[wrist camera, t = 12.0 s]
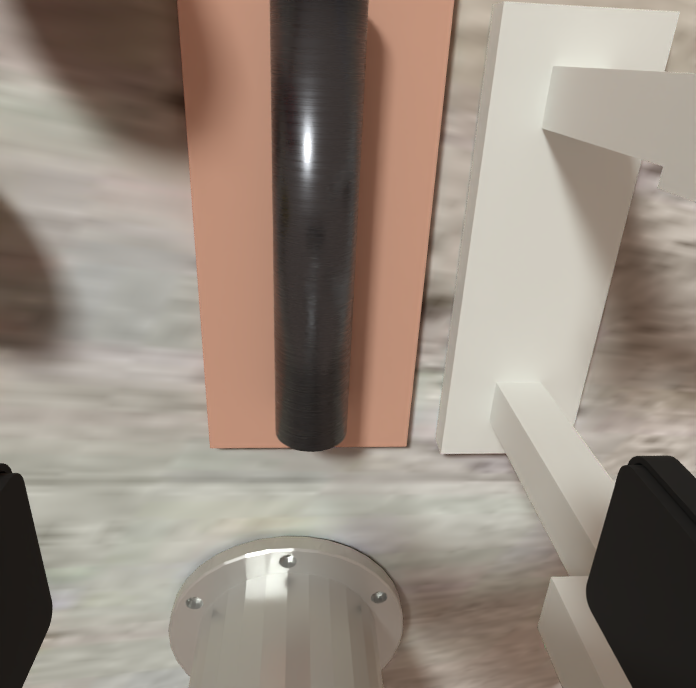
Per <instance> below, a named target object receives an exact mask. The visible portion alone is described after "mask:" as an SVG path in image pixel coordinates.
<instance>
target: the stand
mask: <svg viewBox="0 0 696 688" xmlns="http://www.w3.org/2000/svg"><path fill="white" fill-rule="evenodd" d="M679 13H680V12H677V11H659V10H642V9H625V8H607V7H590V6H573V5H555V4H538V3H521V2H500V3H496V4H493V9H492V16H491V24H490V31H489V39H488V47H487V54H486V62H485V69H484V77H483V84H482V92H481V99H480V107H479V114H478V122H477V129H476V137H475V144H474V152H473V159H472V167H471V175H470V182H469V190H468V197H467V205H466V212H465V220H464V227H463V235H462V242H461V250H460V257H459V265H458V272H457V280H456V287H455V295H454V303H453V310H452V318H451V325H450V333H449V340H448V348H447V355H446V363H445V370H444V378H443V385H442V393H441V400H440V408H439V416H438V423H437V431H436V438H435V439H436V442H437V445H438V447H439V450H440V453H441V454H491V453H506V454H507V456H508V458H509V460H510V462H511V464H512V466H513V468H514V470H515V472H516V474H517V476H518V478H519V480H520V482H521V484H522V486H523V487H524V489H525V491H526V493H527V495H528V497H529V499H530V501H531V503H532V505H533V507H534V509H535V511H536V513H537V515H538V517H539V519H540V520H541V522H542V524H543V526H544V528H545V530H546V532H547V534H548V536H549V538H550V540H551V542H552V544H553V546H554V548H555V550H556V552H557V553H558V555H559V557H560V559H561V561H562V563H563V565H564V567H565V569H566V571H567V573H568V575H569V576H565V577H551V579H550V583H549V587H548V590H547V594H546V598H545V601H544V605H543V609H542V612H541V616H540V619H539V623H538V627H537V628H538V630H539V632H540V635H541V637H542V640H543V642H544V644H545V647H546V649H547V652H548V654H549V657H550V659H551V661H552V664H553V666H554V669H555V671H556V673H557V676H558V678H559V681H560V683H561V685H562V688H632V686H631V684H630V682H629V681H628V679H627V677H626V675H625V673H624V671H623V670H622V668H621V666H620V664H619V662H618V660H617V659H616V657H615V655H614V653H613V651H612V649H611V647H610V646H609V644H608V642H607V640H606V638H605V636H604V635H603V633H602V631H601V629H600V627H599V625H598V624H597V622H596V620H595V618H594V616H593V614H592V613H591V611H590V608H589V606H588V603H587V598H586V584H587V581H588V577H589V574H590V570H591V567H592V563H593V560H594V556H595V553H596V549H597V546H598V542H599V539H600V535H601V532H602V528H603V525H604V521H605V518H606V514H607V511H608V507H609V504H610V500H611V497H612V493H613V490H614V486H615V483H614V482H613V480H612V479H611V478H610V476H609V475H608V473H607V472H606V471H605V469H604V468H603V467H602V465H601V464H600V462H599V461H598V460H597V458H596V457H595V456H594V454H593V453H592V452H591V450H590V449H589V447H588V446H587V445H586V443H585V442H584V441H583V439H582V438H581V437H580V435H579V434H578V432H577V431H576V430H575V428H574V423H575V419H576V415H577V411H578V407H579V403H580V400H581V396H582V392H583V388H584V384H585V380H586V376H587V372H588V368H589V364H590V361H591V357H592V353H593V349H594V345H595V341H596V337H597V333H598V329H599V325H600V322H601V318H602V314H603V310H604V306H605V302H606V298H607V294H608V290H609V286H610V282H611V279H612V275H613V271H614V267H615V263H616V259H617V255H618V251H619V247H620V243H621V240H622V236H623V232H624V228H625V224H626V220H627V216H628V212H629V208H630V204H631V201H632V197H633V193H634V189H635V185H636V181H637V177H638V173H639V169H640V165H641V162H642V160H644V161H648V162H651V163H654V164H657V165H660V166H663V169H662V173H661V176H660V180H659V184H658V187H657V188H658V189H661V190H664V191H666V192H669V193H672V194H674V195H677V196H680V197H682V198H685V199H687V200H690V201H693V202H695V203H696V73H681V72H665V68H666V64H667V60H668V56H669V52H670V48H671V44H672V41H673V37H674V33H675V29H676V25H677V21H678V17H679Z"/></svg>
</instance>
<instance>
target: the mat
mask: <svg viewBox="0 0 696 688" xmlns="http://www.w3.org/2000/svg"><path fill="white" fill-rule="evenodd" d="M177 6H178V20H179V33H180V47H181V60H182V74H183V87H184V101H185V114H186V128H187V142H188V155H189V169H190V182H191V196H192V209H193V223H194V236H195V250H196V264H197V277H198V291H199V304H200V318H201V331H202V345H203V358H204V372H205V385H206V399H207V413H208V426H209V440H210V448H290V447H288V446H286V445H284V444H283V443H282V442H280V440H279V439H278V438H277V436H276V432H275V363H274V289H273V215H272V140H271V66H270V0H177ZM453 7H454V0H369V7H368V27H367V46H366V66H365V85H364V105H363V124H362V144H361V163H360V183H359V202H358V222H357V241H356V261H355V280H354V300H353V319H352V339H351V358H350V378H349V397H348V417H347V433H346V436H345V438H344V440H343V441H342V442H341V443H340V444H338V445H337V446H335V447H402V446H407V437H408V427H409V418H410V409H411V399H412V390H413V381H414V371H415V362H416V353H417V343H418V334H419V324H420V315H421V306H422V296H423V287H424V278H425V268H426V259H427V250H428V240H429V231H430V222H431V212H432V203H433V194H434V184H435V175H436V166H437V156H438V147H439V138H440V128H441V119H442V110H443V100H444V91H445V82H446V72H447V63H448V54H449V44H450V35H451V26H452V16H453Z"/></svg>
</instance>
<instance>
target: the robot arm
mask: <svg viewBox="0 0 696 688" xmlns="http://www.w3.org/2000/svg"><path fill="white" fill-rule="evenodd" d="M586 598H587V603H588V606H589V608H590V611H591V613H592V614H593V616H594V618H595V620H596V622H597V624H598V625H599V627H600V629H601V631H602V633H603V635H604V636H605V638H606V640H607V642H608V644H609V646H610V647H611V649H612V651H613V653H614V655H615V657H616V659H617V660H618V662H619V664H620V666H621V668H622V670H623V671H624V673H625V675H626V677H627V679H628V681H629V682H630V684H631V686H632V688H696V478H695V477H694V476H693V475H692V474H691V473H690V472H689V471H688V470H687V469H686V468H685V467H684V466H683V465H682V464H681V463H680V462H679V461H678V460H677V459H675V458H674V457H672V456H636V457H633V458H632V459H631V460H630V461H629V463H628V465H625V466H622V467H621V468H620V470H619V473H618V476H617V479H616V483H615V486H614V490H613V493H612V497H611V500H610V504H609V507H608V511H607V514H606V518H605V521H604V525H603V528H602V532H601V535H600V539H599V542H598V546H597V549H596V553H595V556H594V560H593V563H592V567H591V570H590V574H589V577H588V581H587V584H586ZM51 618H52V599H51V595H50V591H49V587H48V582H47V578H46V574H45V569H44V565H43V561H42V556H41V552H40V548H39V544H38V539H37V535H36V531H35V526H34V522H33V518H32V513H31V509H30V505H29V501H28V496H27V492H26V488H25V483H24V480H23V477H22V476H21V475H20V474H18V473H12V471H11V469H10V467H9V466H8V465H6V464H3V463H0V688H22V687H23V684H24V682H25V680H26V678H27V675H28V673H29V671H30V669H31V666H32V664H33V662H34V660H35V658H36V655H37V653H38V651H39V649H40V646H41V644H42V642H43V640H44V638H45V635H46V633H47V631H48V628H49V626H50V622H51ZM168 632H169V639H170V646H171V649H172V651H173V653H174V656H175V658H176V660H177V662H178V663H179V664H180V666H181V667H182V668H183V669H184V671H185V672H186V673H187V674H188V675H189V676H190V682H189V687H188V688H383V680H382V673H381V671H382V669H383V668H384V667H385V666H386V665H387V664H388V663H389V661H390V660H391V659H392V657H393V656H394V654H395V652H396V650H397V648H398V646H399V644H400V641H401V637H402V633H403V613H402V608H401V603H400V598H399V595H398V592H397V590H396V588H395V586H394V584H393V581H392V580H391V579H390V578H389V576H388V575H387V574H386V573H385V571H384V570H383V569H382V568H381V567H380V566H379V565H377V564H376V563H375V562H374V561H372V560H371V559H370V558H369V557H367V556H365V555H364V554H362V553H360V552H358V551H356V550H354V549H352V548H350V547H348V546H344V545H341V544H338V543H335V542H332V541H329V540H323V539H317V538H311V537H289V536H281V537H274V538H266V539H258V540H255V541H251V542H248V543H244V544H241V545H237V546H235V547H232V548H230V549H228V550H226V551H224V552H221V553H219V554H217V555H215V556H214V557H212V558H211V559H209V560H208V561H206V562H205V563H204V564H202V565H201V566H199V567H198V568H197V569H196V570H195V571H194V572H193V573H192V574H191V575H190V576H189V577H188V578H187V579H186V581H185V582H184V584H183V585H182V587H181V589H180V590H179V592H178V594H177V596H176V599H175V602H174V606H173V609H172V613H171V618H170V624H169V631H168Z"/></svg>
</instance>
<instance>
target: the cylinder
mask: <svg viewBox="0 0 696 688" xmlns="http://www.w3.org/2000/svg"><path fill="white" fill-rule="evenodd" d="M368 7H369V0H270V66H271V140H272V215H273V289H274V363H275V432H276V436H277V438H278V439H279V440H280V442H282V443H283V444H284V445H286V446H288V447H290V448H292V449H296V450H300V451H308V452H314V451H323V450H327V449H330V448H333V447H335V446H337V445H338V444H340V443H341V442H342V441H343V440H344V438H345V436H346V433H347V417H348V397H349V378H350V358H351V339H352V319H353V300H354V280H355V261H356V241H357V222H358V202H359V183H360V163H361V144H362V124H363V105H364V85H365V66H366V46H367V27H368Z"/></svg>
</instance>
